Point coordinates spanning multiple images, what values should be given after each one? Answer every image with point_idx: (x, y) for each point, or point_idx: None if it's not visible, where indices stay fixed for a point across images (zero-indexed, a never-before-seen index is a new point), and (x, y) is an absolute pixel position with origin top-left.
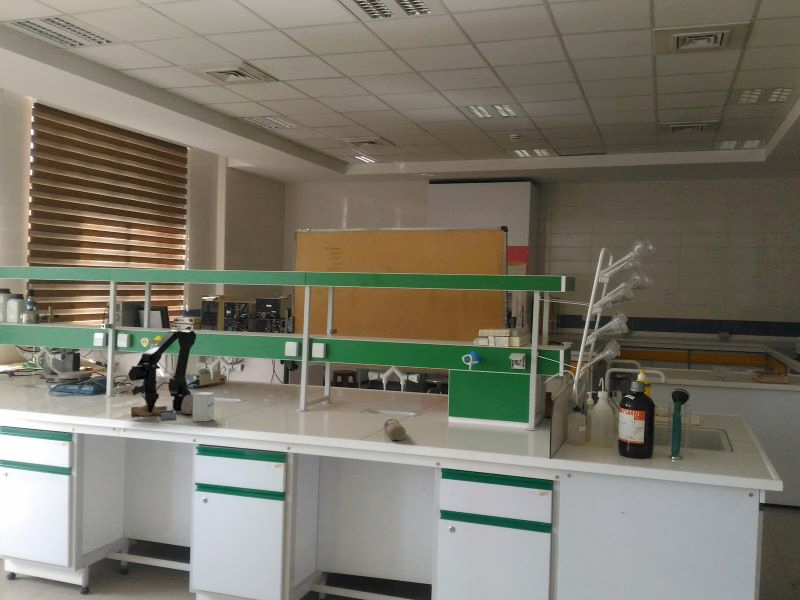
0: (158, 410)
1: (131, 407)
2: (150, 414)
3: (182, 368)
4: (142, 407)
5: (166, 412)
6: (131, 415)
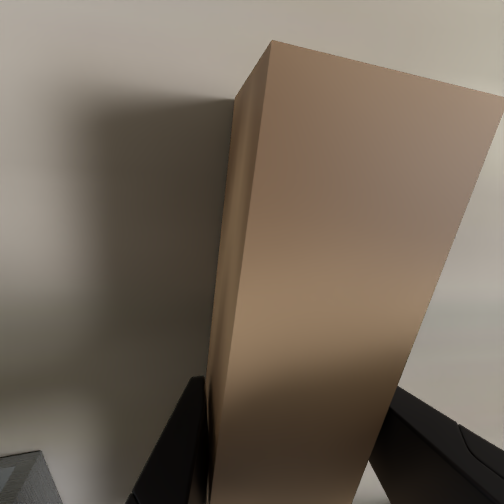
0: None
1: (270, 53)
2: (208, 366)
3: None
4: (229, 345)
5: None
6: (236, 104)
